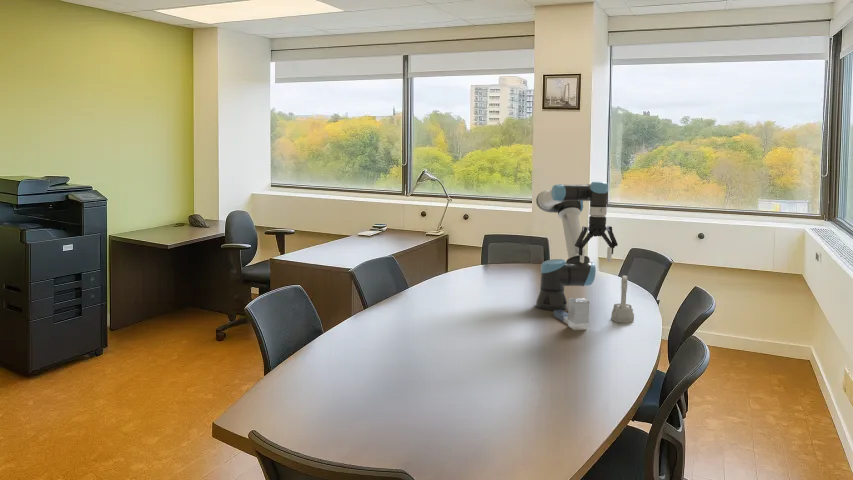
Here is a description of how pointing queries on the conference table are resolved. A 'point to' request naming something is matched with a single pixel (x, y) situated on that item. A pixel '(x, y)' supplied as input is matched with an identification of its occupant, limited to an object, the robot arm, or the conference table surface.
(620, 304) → the engine component
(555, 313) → the blue-grey beige mallet
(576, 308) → the grey textured cube
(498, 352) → the conference table surface
